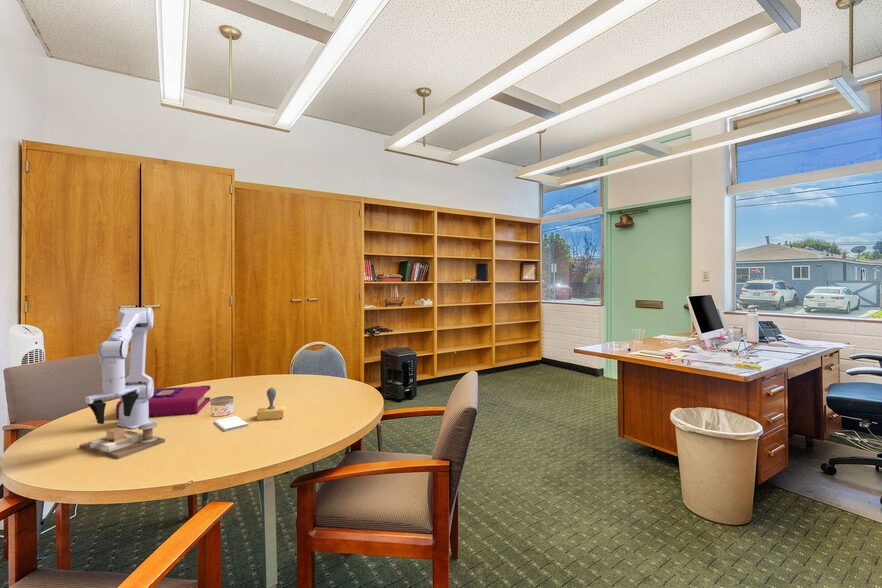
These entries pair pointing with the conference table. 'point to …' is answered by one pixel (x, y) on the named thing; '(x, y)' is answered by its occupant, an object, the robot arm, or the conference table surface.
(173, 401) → the book
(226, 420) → the external hard drive
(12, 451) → the conference table surface
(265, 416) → the rubber stamp
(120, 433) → the orange and brown block
